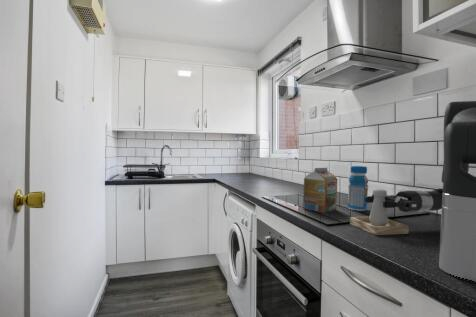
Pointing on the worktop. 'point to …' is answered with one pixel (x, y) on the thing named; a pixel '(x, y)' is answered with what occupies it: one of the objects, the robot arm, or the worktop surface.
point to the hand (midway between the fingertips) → (374, 201)
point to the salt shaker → (378, 209)
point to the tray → (390, 228)
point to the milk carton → (320, 191)
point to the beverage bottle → (357, 188)
